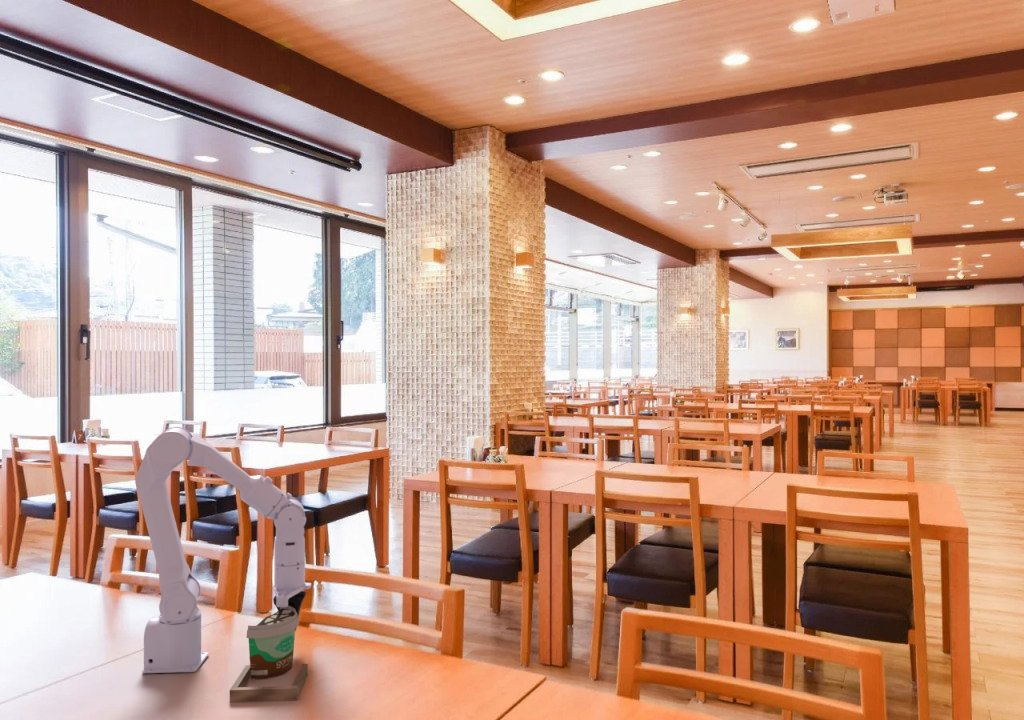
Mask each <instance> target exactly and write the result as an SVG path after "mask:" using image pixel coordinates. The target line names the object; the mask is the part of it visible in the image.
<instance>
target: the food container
mask: <svg viewBox="0 0 1024 720" xmlns="http://www.w3.org/2000/svg"><path fill="white" fill-rule="evenodd" d="M299 624H300V620H299V617H298V614H297V612H296V610H295V609H294V608H293V607H291V606H287V607H280V610H278V609H277V611H276V612H274V613H273V614H270V615H267V616H265V617H264V618H263V619H262V620H261V621H260V622H258V623H257V624H256V625H251V624H250V625H249V624H248V625H247V630H246V639H248V650H249V653H248V654H249V665H250V670H251V678H250V680H269V679H273V678H278V677H280V676H283V675H285V674H287V673H288V672H289V671H290V670H292V669H293V664H294V663H293V662H294V651H295V650H294V649H295V640H296V639H295V638H296V631H295V628H296V627H298V626H299ZM296 629H297V628H296Z"/></svg>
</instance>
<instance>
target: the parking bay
mask: <svg viewBox="0 0 1024 720" xmlns="http://www.w3.org/2000/svg"><path fill="white" fill-rule="evenodd" d="M308 676H309V664H308V663H302V664H301V666H300V668H299V670H298V672H297V674H296V676H295V678H294V681H293V682H292V684H291V685H277V686H276V685H275V686H274V685H273V686H268V685H267V686H247V684H248V682H249V681H250V680H251V670H250V664H249V665H248V664H247V665H245V666H244V667H243V669H242V670H241V672H240V674H239V675H238V677H237V678H236V680H235V681H234V683H233V684H232V685H231V687H230V689H229V703H237V702H238V703H243V702H245V703H247V702H272V701H273V702H275V701H276V702H277V701H297V700H298V698H299V695H300V694H301V691H302V689H303V687H304V684H305V682H306V679H307V678H308Z"/></svg>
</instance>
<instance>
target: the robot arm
mask: <svg viewBox="0 0 1024 720" xmlns="http://www.w3.org/2000/svg"><path fill="white" fill-rule="evenodd" d="M185 460H188V462H187V463H186V466H189V467H204V468H207V469H208V470H209V471H211V472H212V473H214V474H216V476H218V477H220V478H222V479H223V480H225V481H226V482H227V483H228V484H230V485H232V486H233V487H234V488H236V489H237V490H239V498H240V500H241V501H242V502H244V503H245V504H247V505H248V506H249V507H250V508H252V509H254V510H255V511H256V512H258V513H259V515H261V516H263V517H264V518H266V519H270V520H273V524H274V526H275V539H274V542H273V543H274V553H273V554H274V555H273V556H274V558H273V559H274V560H273V561H274V566H273V567H274V569H273V570H274V571H273V572H274V573H273V574H274V576H273V577H274V585H273V587H272V588H273V592H274V594H275V596H274V597H273V599H272V600H273V601H272V602H273V604H274V606H275V607H276V609H277V611H278V610H280V607H287V606H291V607H293V608H294V609H295V610H296V612H297V614H298V618H299V617H300V613H301V608H302V605H303V602H304V599H305V597H306V595H307V592H306V591H305V590H309V589H311V587H312V582H306V538H305V526H306V523H307V517H306V513H305V509H304V508H305V507H304V506H303V504H302V503H301V502H300V501H299V500H298V498H297V497H294V496H293V495H292V494H291V493H289V492H287V493H286V492H284V491H283V490H282V489H280V488H279V487H277V486H276V485H275V484H273V483H272V482H273V479H272V478H271V477H269V476H268V475H267V476H265V477H264V476H263V475H260V474H258V475H249V473H247V472H246V471H245V470H243V469H242V468H241V467H239V465H237V464H236V463H234V462H233V461H232V460H231V459H230V458H228V457H227V456H226V455H224V453H222V452H221V451H220V450H218V449H217V448H215V447H214V446H213V445H212V444H210V443H209V442H207V441H206V440H205V439H202V438H201V437H199V436H198V435H195V434H193V435H192V433H191V432H190V431H189V430H188V429H186V428H184V427H182V426H172V427H169V428H167V429H165V430H164V431H163V432H161V434H160V435H158V436H157V437H156V438H155V439H154V440H153V441H152V442H151V443H150V445H148V447H147V448H146V450H145V453H144V457H143V459H142V460H141V463H140V465H139V468H138V471H137V473H136V475H135V478H134V479H135V480H134V481H135V486H136V487H135V488H136V490H137V494H138V498H139V502H140V505H141V509H142V513H143V517H144V521H145V525H146V528H147V531H148V536H149V539H150V543H151V548H152V551H153V555H154V558H155V562H156V563H155V564H156V567H157V570H158V577H159V578H158V579H159V580H158V581H159V583H158V584H159V590H160V600H159V605H158V608H159V609H158V610H159V613H160V614H159V616H158V617H157V616H156V617H155V616H154V617H151V618H149V620H148V621H147V623H146V624H145V625H146V626H145V627H144V634H143V669H142V671H141V673H142V674H158V673H159V674H161V673H162V674H166V673H167V674H168V673H170V674H171V673H194V672H196V671H197V670H198V669H199V668H200V667H201V665H202V664H203V663H204V662H205V660H206V659H207V658H208V656H209V655H210V653H209V652H207V651H206V652H204V651H203V652H202V610H201V609H200V608H198V606H197V605H198V599H199V597H200V594H201V585H200V583H199V581H198V580H197V579H196V577H195V576H194V575H193V574H192V572H191V569H190V566H189V564H188V562H187V561H186V557H185V552H184V549H183V545H182V544H183V543H182V541H181V537H180V533H179V530H178V526H177V522H176V518H175V515H174V510H173V507H172V506H173V505H172V502H171V498H170V495H169V490H168V488H167V484H166V481H167V479H168V477H170V475H171V474H172V472H173V471H174V469H175V468H177V467H178V466H179V465H181V464H182V463H183V462H185ZM297 627H298V626H297ZM297 627H296V628H295V632H296V631H297Z"/></svg>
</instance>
